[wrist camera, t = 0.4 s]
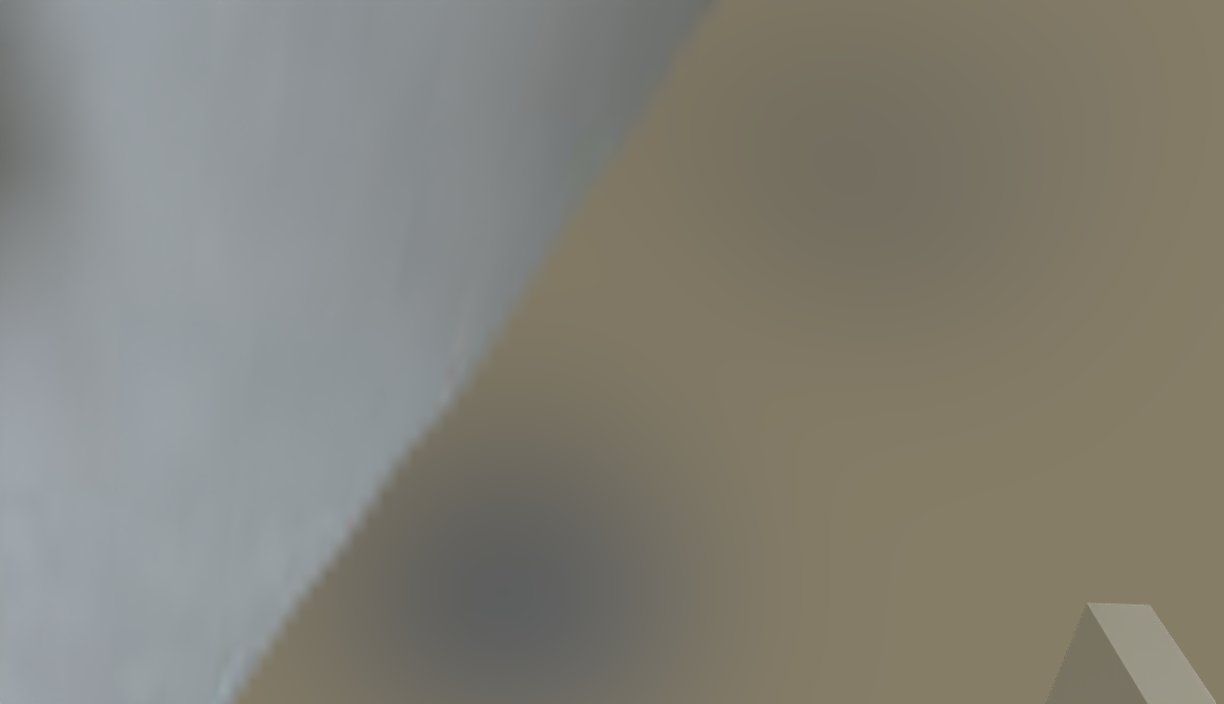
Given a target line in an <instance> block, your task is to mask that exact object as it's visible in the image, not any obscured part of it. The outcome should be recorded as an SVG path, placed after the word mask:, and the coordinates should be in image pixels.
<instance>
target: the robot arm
mask: <svg viewBox="0 0 1224 704" xmlns="http://www.w3.org/2000/svg"><path fill="white" fill-rule="evenodd" d="M1046 704H1217V703H1216V702H1215V701H1214V699H1213V697H1212V696H1211V695H1210V693H1209V692H1208V690H1207V689H1206V687H1205V686H1204V684H1203V683H1202V681H1201V680H1200V678H1199V677H1198V675H1197V674H1196V672H1195V671H1194V669H1193V668H1192V667H1191V665H1190V664H1189V662H1188V661H1187V659H1186V658H1185V656H1184V655H1183V653H1182V652H1181V650H1180V649H1179V648H1178V646H1177V644H1176V643H1175V641H1174V640H1173V639H1172V637H1171V636H1170V634H1169V633H1168V631H1167V630H1166V628H1165V627H1164V625H1163V624H1162V622H1161V621H1160V620H1159V618H1158V616H1157V615H1156V614H1155V612H1154V611H1153V609H1152V608H1151V606H1150V605H1139V604H1106V603H1087V604H1086V606H1085V608H1084V611H1083V613H1082V616H1081V618H1080V620H1079V623H1078V625H1077V628H1076V631H1075V633H1074V635H1073V638H1072V640H1071V643H1070V645H1069V647H1068V650H1067V652H1066V655H1065V657H1064V660H1063V662H1062V665H1061V667H1060V670H1059V672H1058V674H1057V677H1056V679H1055V682H1054V684H1053V687H1052V689H1051V692H1050V694H1049V697H1048V699H1047V701H1046Z"/></svg>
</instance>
